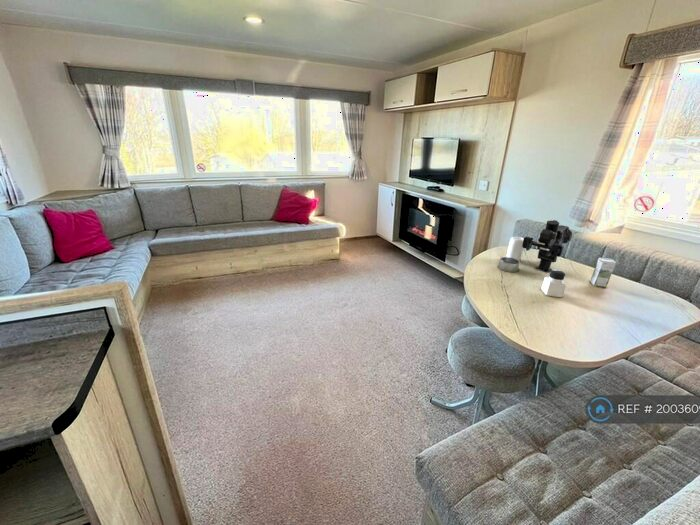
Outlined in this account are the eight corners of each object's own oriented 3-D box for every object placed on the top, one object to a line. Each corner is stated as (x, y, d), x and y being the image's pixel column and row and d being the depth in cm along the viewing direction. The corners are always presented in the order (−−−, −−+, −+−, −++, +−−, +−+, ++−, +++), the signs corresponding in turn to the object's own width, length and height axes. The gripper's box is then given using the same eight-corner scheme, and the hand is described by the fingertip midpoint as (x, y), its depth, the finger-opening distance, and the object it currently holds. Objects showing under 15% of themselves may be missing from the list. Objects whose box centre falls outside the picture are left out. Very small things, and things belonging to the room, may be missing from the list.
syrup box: (602, 283, 167) (611, 258, 162) (606, 287, 162) (616, 262, 157) (589, 281, 169) (598, 256, 164) (593, 285, 164) (603, 260, 158)
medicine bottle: (562, 297, 150) (569, 275, 145) (546, 295, 151) (553, 273, 146) (556, 291, 156) (563, 269, 152) (540, 289, 157) (547, 267, 153)
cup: (502, 257, 199) (508, 236, 194) (515, 257, 200) (520, 236, 195) (510, 262, 191) (516, 240, 186) (523, 262, 192) (529, 240, 187)
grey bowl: (504, 263, 188) (506, 255, 186) (521, 269, 181) (523, 261, 179) (494, 267, 183) (496, 258, 181) (511, 273, 175) (513, 264, 173)
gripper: (531, 223, 171) (519, 233, 162) (570, 231, 159) (560, 243, 150) (527, 241, 177) (516, 252, 168) (565, 251, 164) (555, 262, 155)
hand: (536, 252), depth 160 cm, fingers open, 9 cm apart
